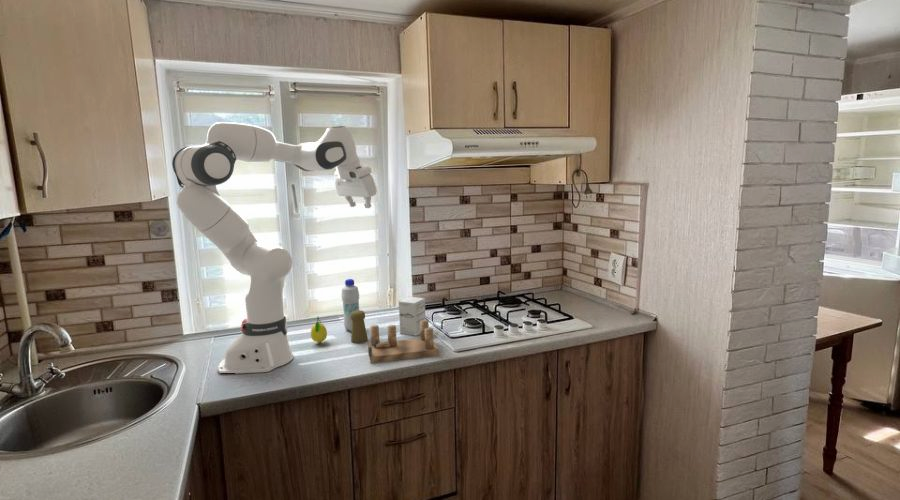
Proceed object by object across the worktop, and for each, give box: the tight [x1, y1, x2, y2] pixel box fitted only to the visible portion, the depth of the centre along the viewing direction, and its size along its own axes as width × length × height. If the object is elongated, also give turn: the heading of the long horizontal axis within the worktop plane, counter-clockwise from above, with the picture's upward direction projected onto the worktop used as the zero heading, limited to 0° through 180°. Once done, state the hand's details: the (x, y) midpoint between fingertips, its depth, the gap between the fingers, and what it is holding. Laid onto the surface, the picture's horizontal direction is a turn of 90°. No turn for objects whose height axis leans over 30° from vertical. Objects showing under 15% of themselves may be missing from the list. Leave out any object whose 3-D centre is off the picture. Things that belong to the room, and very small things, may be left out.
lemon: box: [310, 315, 328, 344], centre depth 168 cm, size 7×6×10 cm
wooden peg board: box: [367, 319, 439, 364], centre depth 157 cm, size 22×12×8 cm, turn 103°
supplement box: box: [398, 296, 427, 337], centre depth 176 cm, size 7×7×13 cm
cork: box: [350, 309, 369, 345], centre depth 169 cm, size 6×6×11 cm
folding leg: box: [374, 324, 398, 348], centre depth 157 cm, size 8×3×6 cm, turn 103°
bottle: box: [341, 278, 360, 333], centre depth 181 cm, size 7×7×20 cm
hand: (360, 207), depth 175 cm, fingers open, 8 cm apart
